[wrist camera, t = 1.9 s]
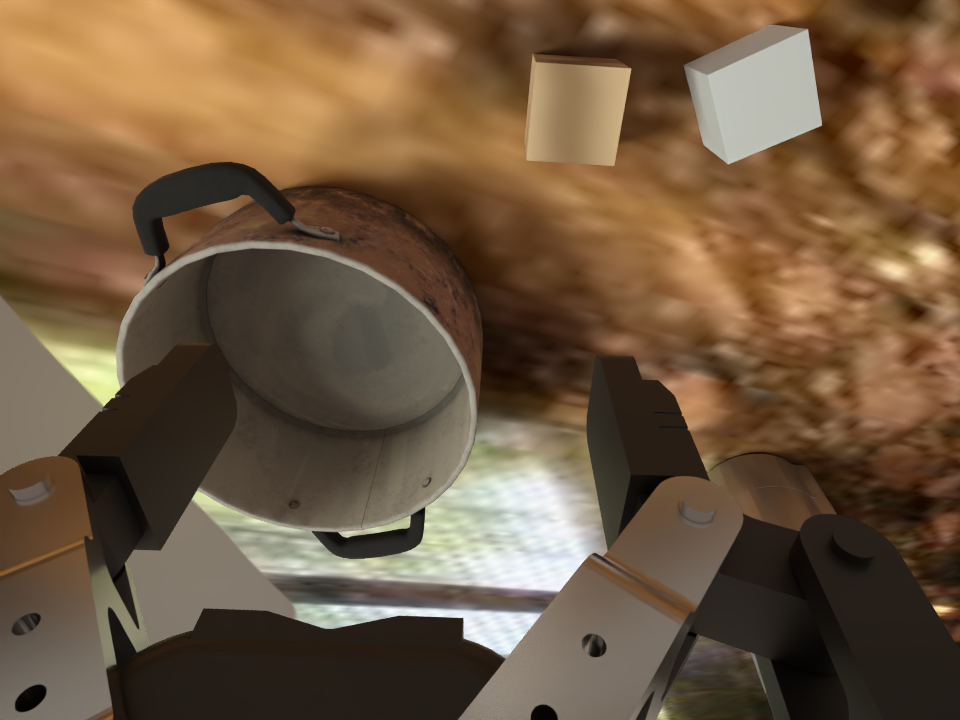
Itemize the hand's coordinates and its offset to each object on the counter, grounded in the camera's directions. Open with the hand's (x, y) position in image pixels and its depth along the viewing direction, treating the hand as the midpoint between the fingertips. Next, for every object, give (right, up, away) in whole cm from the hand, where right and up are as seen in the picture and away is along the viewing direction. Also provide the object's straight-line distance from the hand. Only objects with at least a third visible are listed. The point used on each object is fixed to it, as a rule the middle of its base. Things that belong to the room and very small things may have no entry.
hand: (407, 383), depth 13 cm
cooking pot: (-9, +3, +33) cm, 34 cm away
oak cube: (+7, +17, +23) cm, 29 cm away
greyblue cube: (+17, +17, +23) cm, 33 cm away
